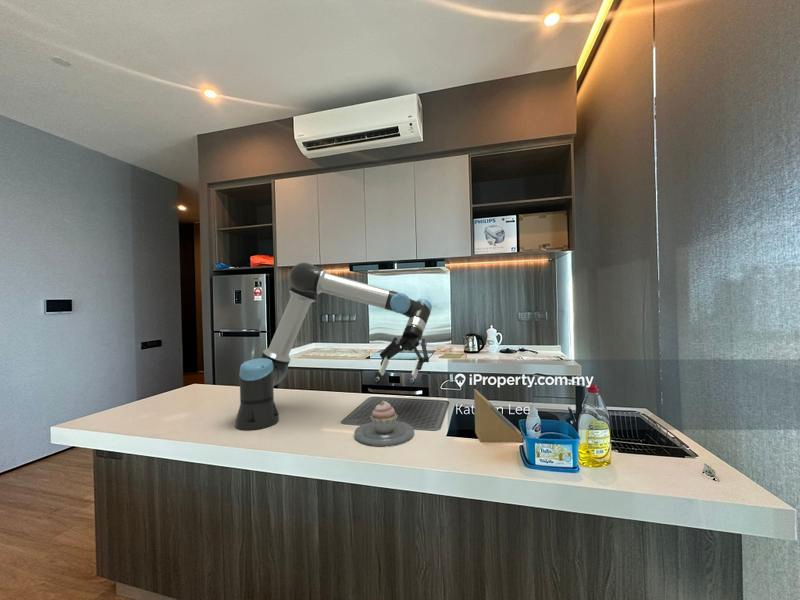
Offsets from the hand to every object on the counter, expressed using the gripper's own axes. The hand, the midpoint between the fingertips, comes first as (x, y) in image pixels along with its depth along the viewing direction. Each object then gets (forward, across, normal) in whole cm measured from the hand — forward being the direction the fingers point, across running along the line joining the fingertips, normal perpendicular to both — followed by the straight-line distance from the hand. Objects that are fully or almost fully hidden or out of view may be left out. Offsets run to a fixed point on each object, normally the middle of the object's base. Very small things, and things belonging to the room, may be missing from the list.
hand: (396, 375), depth 124 cm
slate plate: (+20, -1, -5) cm, 21 cm away
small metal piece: (+13, -86, -13) cm, 88 cm away
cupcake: (+19, -1, -4) cm, 20 cm away
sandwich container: (+10, -36, -15) cm, 41 cm away
